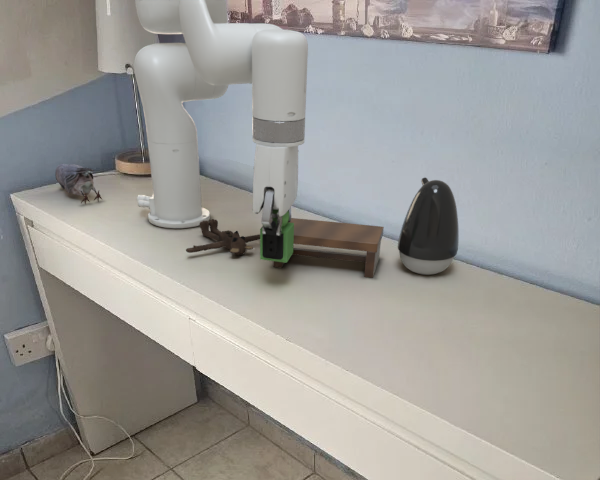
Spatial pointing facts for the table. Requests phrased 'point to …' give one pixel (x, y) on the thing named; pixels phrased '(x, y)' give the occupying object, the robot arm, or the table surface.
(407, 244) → the pump dispenser
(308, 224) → the bench
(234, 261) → the table surface
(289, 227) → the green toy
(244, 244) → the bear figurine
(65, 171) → the bird
